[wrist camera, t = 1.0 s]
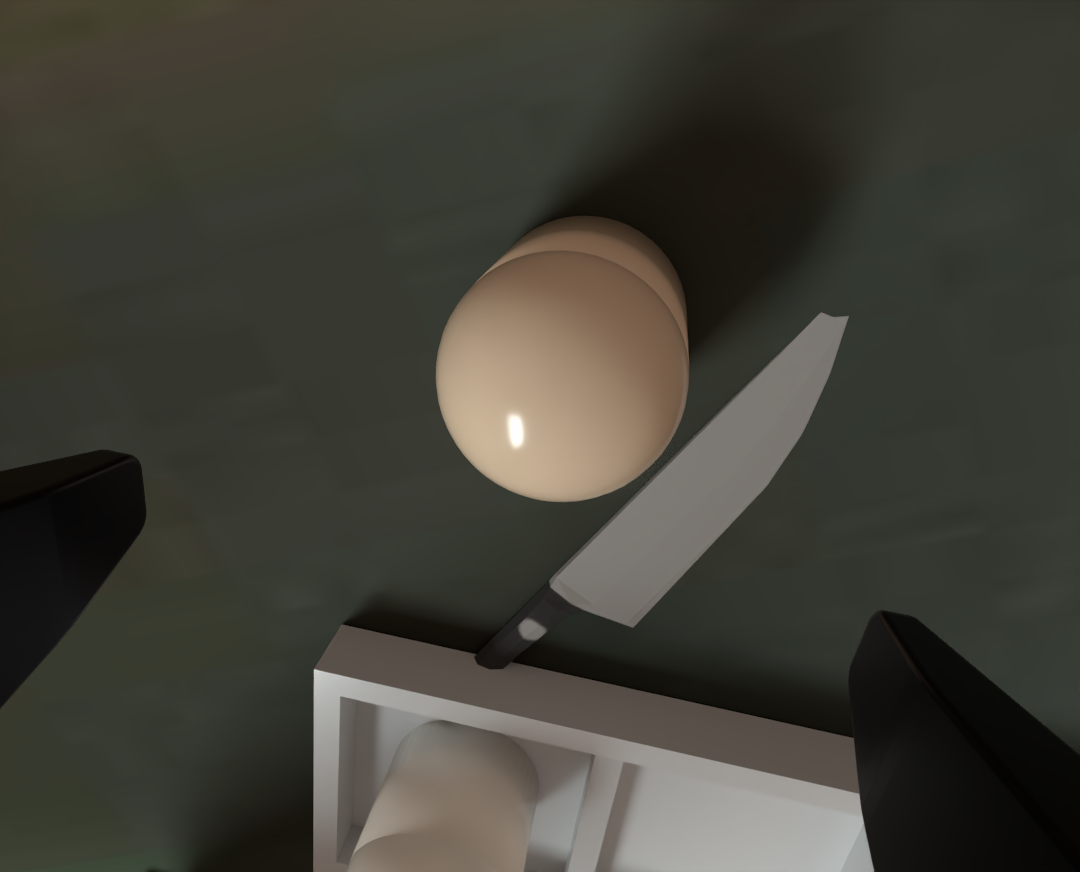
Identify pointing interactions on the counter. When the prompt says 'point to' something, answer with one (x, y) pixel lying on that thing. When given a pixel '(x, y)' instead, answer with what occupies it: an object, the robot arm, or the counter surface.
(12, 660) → the robot arm
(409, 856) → the cream egg
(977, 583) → the counter surface
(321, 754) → the egg carton
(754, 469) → the chef's knife
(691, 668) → the counter surface
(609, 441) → the tan egg
